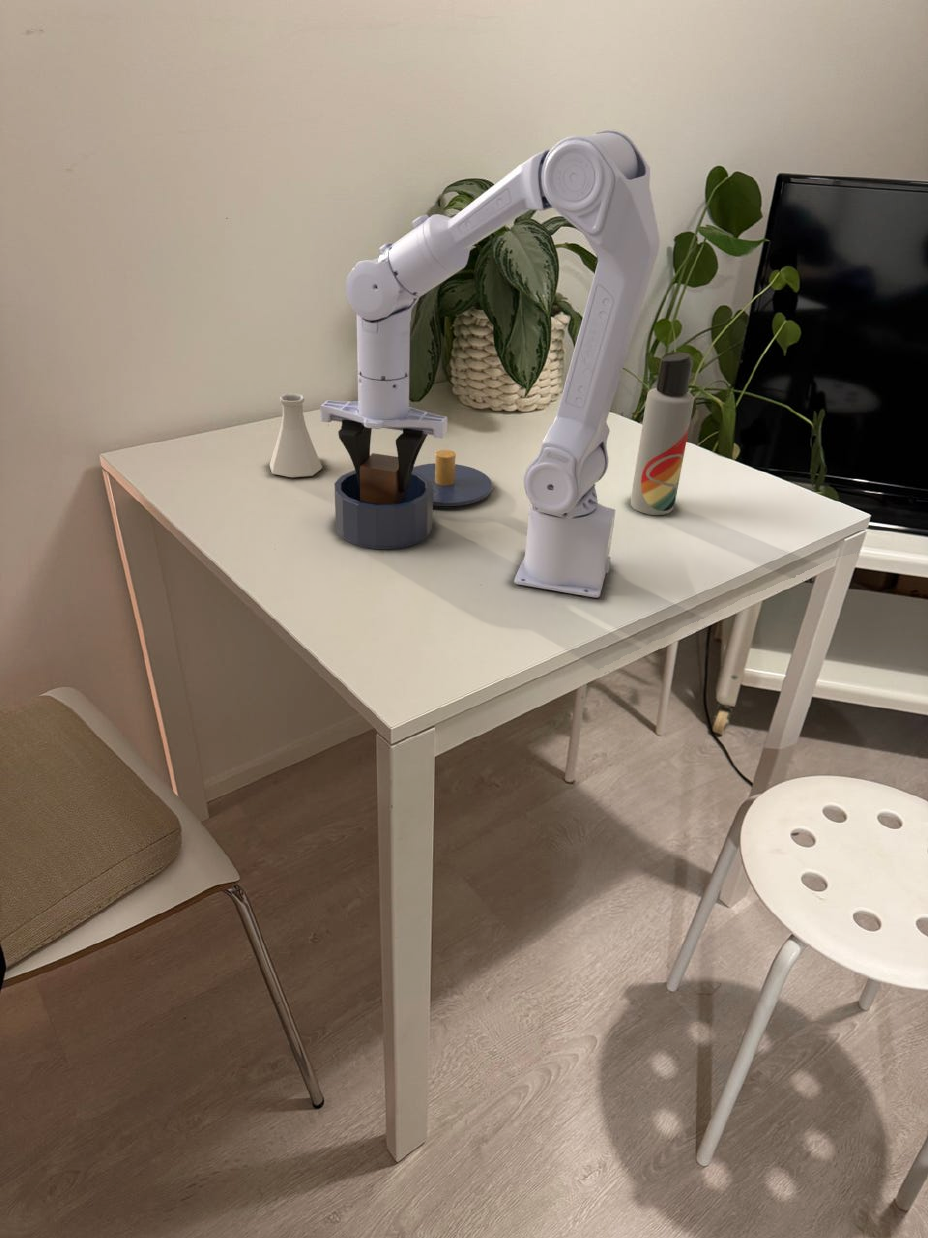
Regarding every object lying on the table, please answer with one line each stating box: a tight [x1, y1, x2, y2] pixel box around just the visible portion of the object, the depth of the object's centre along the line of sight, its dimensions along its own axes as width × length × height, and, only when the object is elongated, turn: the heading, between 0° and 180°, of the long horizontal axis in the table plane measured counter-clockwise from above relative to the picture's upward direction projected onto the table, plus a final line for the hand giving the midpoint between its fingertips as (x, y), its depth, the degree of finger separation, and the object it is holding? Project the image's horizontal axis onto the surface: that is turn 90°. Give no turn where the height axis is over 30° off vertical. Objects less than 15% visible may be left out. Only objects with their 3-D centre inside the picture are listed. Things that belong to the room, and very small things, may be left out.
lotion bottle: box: [630, 352, 695, 516], centre depth 113 cm, size 6×6×20 cm
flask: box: [269, 393, 323, 478], centre depth 121 cm, size 7×7×10 cm
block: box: [360, 452, 407, 505], centre depth 107 cm, size 4×4×4 cm
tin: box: [333, 469, 434, 550], centre depth 109 cm, size 12×12×5 cm
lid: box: [412, 449, 493, 507], centre depth 119 cm, size 13×13×5 cm
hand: (383, 485), depth 107 cm, fingers closed on block, 4 cm apart
